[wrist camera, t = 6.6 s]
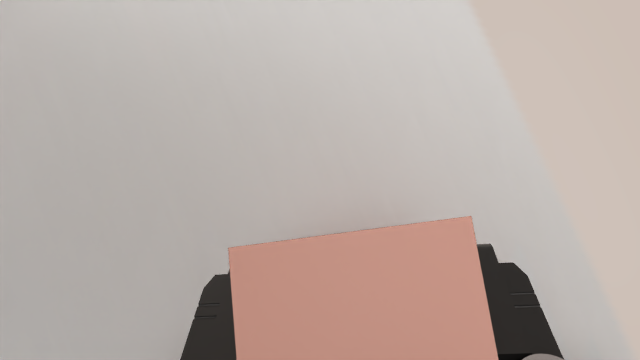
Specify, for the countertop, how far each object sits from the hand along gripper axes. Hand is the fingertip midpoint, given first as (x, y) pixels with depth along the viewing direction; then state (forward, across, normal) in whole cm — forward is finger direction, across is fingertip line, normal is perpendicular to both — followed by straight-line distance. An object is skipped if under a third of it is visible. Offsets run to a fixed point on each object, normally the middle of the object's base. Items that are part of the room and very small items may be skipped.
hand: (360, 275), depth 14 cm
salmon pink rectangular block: (+2, 0, +4) cm, 5 cm away
